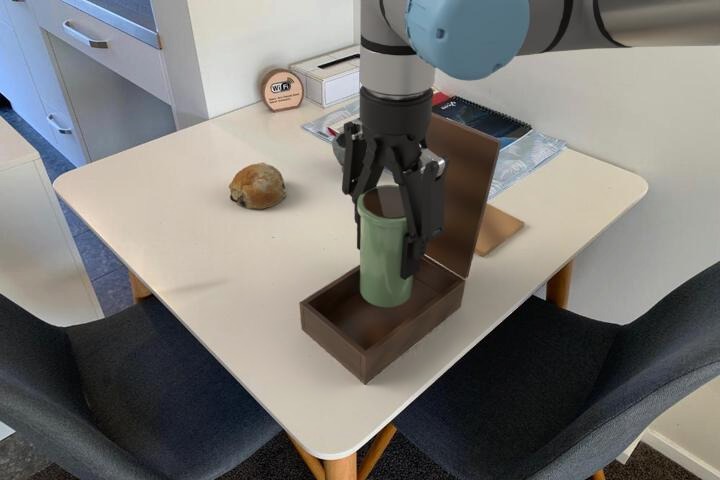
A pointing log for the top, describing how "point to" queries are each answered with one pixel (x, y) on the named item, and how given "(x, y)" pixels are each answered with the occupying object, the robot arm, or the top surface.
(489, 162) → the bin lid
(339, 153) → the mortar and pestle
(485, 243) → the cork mat
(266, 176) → the bread roll
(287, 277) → the top surface
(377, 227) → the green pot
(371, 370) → the bin
